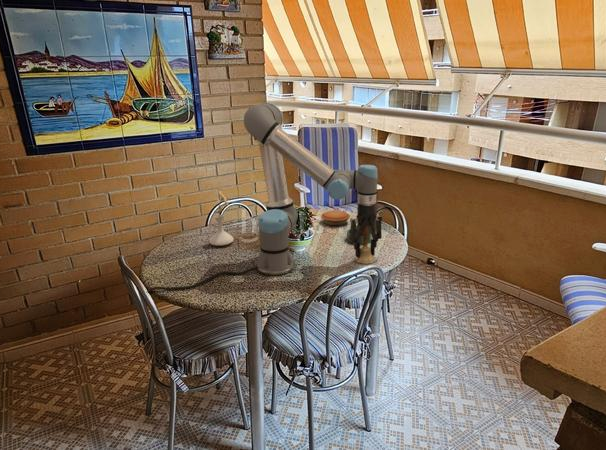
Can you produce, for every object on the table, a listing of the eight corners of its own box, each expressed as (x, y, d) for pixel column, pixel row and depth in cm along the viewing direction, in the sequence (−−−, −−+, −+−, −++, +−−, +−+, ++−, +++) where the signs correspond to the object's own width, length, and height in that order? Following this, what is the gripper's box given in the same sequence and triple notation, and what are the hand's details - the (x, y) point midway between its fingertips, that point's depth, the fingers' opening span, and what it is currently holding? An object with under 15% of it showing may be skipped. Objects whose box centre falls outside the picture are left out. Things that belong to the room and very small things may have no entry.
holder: (352, 245, 189) (352, 237, 188) (343, 237, 200) (343, 229, 198) (375, 242, 192) (375, 234, 191) (364, 234, 203) (365, 226, 201)
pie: (335, 215, 231) (335, 207, 229) (355, 222, 219) (356, 213, 218) (315, 221, 221) (315, 213, 220) (335, 229, 210) (335, 219, 208)
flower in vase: (229, 248, 188) (224, 196, 180) (205, 247, 190) (200, 195, 182) (238, 238, 201) (234, 189, 192) (215, 237, 202) (211, 188, 194)
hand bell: (351, 260, 174) (352, 224, 169) (363, 254, 180) (364, 220, 174) (366, 265, 169) (368, 229, 163) (378, 259, 174) (380, 224, 169)
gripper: (348, 208, 160) (347, 262, 167) (392, 203, 165) (389, 256, 172) (341, 203, 166) (340, 255, 174) (383, 198, 172) (381, 249, 179)
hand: (364, 255), depth 173 cm, fingers closed on hand bell, 6 cm apart
